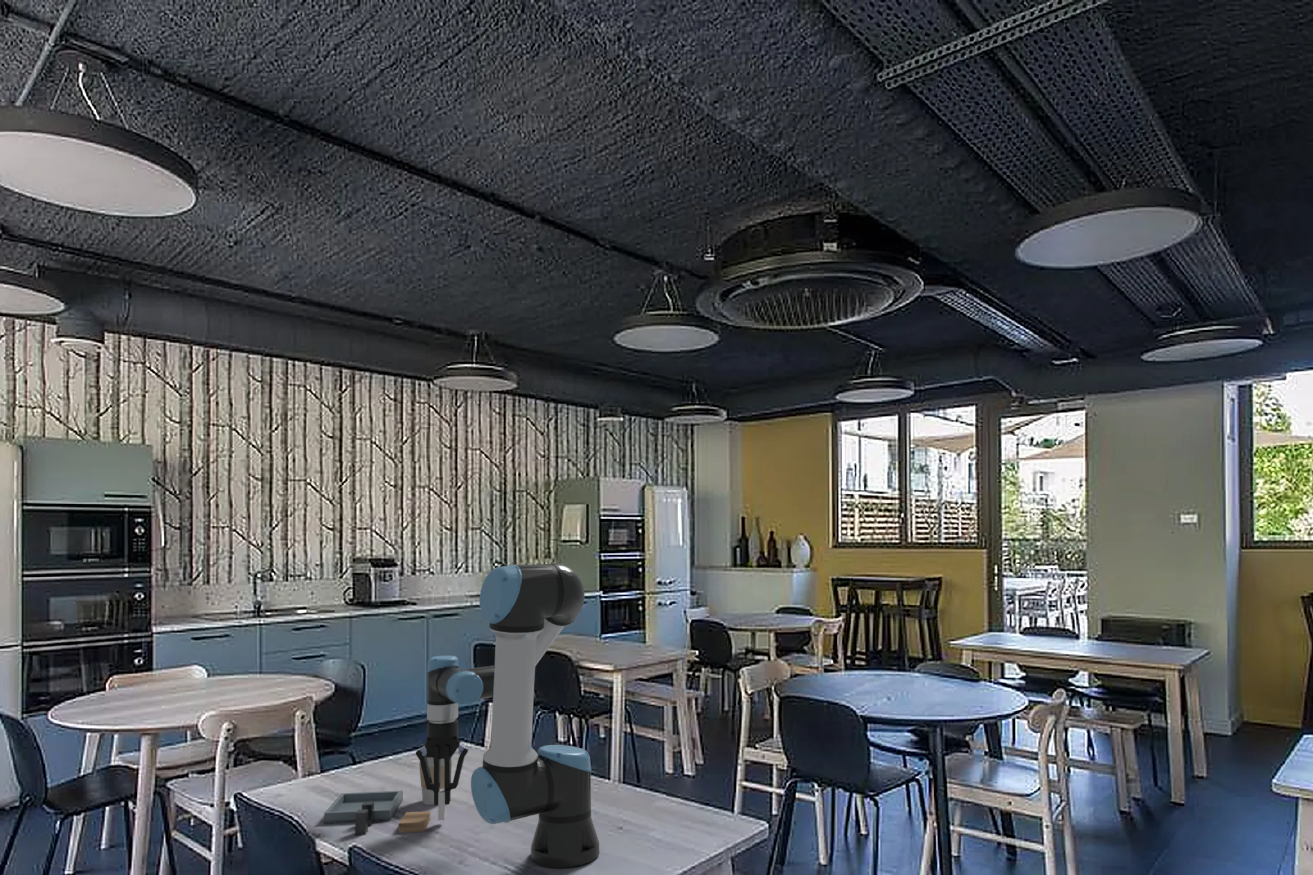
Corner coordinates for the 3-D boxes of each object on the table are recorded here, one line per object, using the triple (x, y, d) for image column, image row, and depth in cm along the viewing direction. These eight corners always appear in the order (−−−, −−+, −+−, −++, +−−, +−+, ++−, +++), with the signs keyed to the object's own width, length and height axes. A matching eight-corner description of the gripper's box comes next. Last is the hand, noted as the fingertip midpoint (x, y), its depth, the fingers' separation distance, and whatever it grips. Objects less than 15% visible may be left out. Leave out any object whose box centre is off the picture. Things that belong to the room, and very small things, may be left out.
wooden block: (424, 833, 211) (424, 822, 212) (398, 834, 211) (398, 823, 211) (430, 821, 219) (430, 811, 220) (405, 822, 219) (406, 812, 219)
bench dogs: (365, 834, 210) (365, 812, 210) (355, 834, 210) (355, 813, 210) (373, 822, 218) (373, 801, 219) (363, 822, 218) (364, 802, 219)
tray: (390, 820, 220) (390, 810, 220) (324, 823, 218) (324, 813, 218) (402, 800, 235) (402, 790, 236) (341, 803, 234) (341, 793, 234)
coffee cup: (457, 795, 238) (457, 739, 240) (446, 806, 229) (446, 747, 231) (425, 795, 239) (425, 738, 240) (412, 806, 230) (413, 747, 232)
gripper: (471, 715, 222) (470, 812, 220) (418, 717, 221) (418, 814, 219) (467, 722, 215) (467, 822, 213) (413, 724, 214) (412, 824, 212)
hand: (442, 818), depth 216 cm, fingers closed
